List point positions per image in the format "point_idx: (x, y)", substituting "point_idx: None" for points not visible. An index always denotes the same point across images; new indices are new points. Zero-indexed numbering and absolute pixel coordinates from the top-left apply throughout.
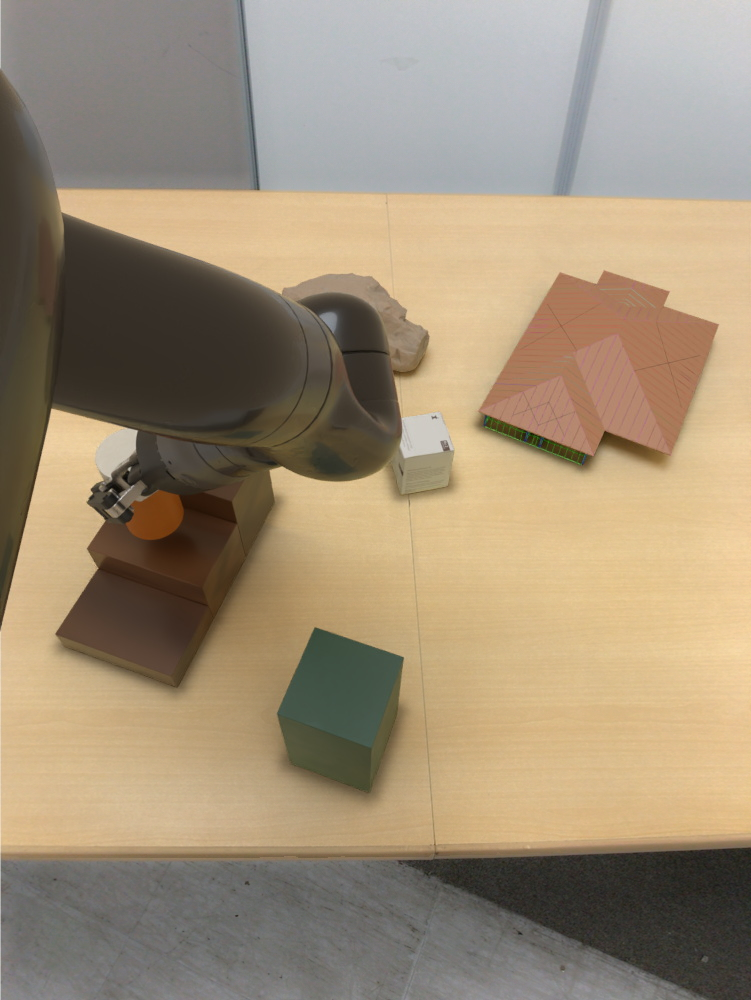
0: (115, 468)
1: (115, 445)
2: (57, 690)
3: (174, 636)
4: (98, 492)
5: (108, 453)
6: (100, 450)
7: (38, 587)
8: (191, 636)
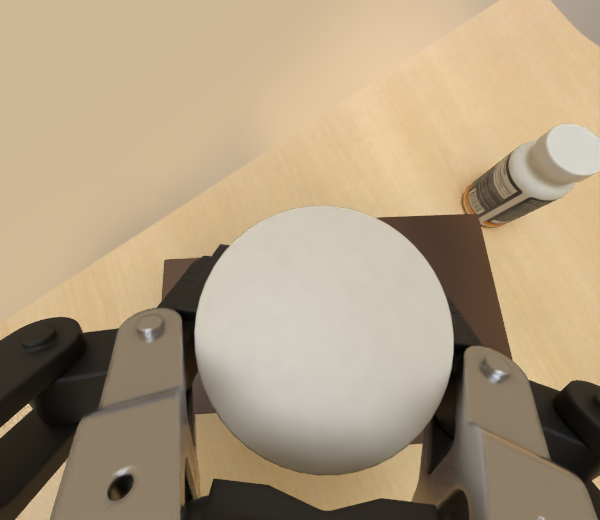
0: (123, 424)
1: (333, 258)
2: (133, 287)
3: (202, 391)
4: (184, 287)
5: (291, 256)
6: (292, 222)
7: (227, 207)
8: (209, 412)
